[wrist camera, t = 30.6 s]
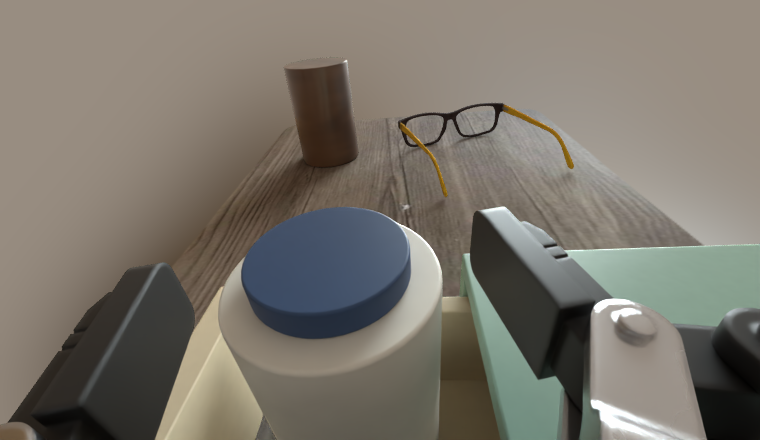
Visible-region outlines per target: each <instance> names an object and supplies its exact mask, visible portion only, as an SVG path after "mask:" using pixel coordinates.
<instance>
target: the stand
mask: <svg viewBox="0 0 760 440" xmlns="http://www.w3.org/2000/svg"><path fill="white" fill-rule="evenodd" d="M284 71H285V76H286V80H287V85H288V89H289V94H290V98H291V103H292V107H293V112H294V116H295V121H296V126H297V130H298V135H299V139H300V144H301V148H302V153H303V157H304V161H305V163H306V164H308V165H310V166H314V167H333V166H338V165H342V164H345V163H348V162H350V161H352V160H353V159H355V158H356V157H357V156H358V153H359V152H358V144H357V136H356V128H355V120H354V112H353V104H352V96H351V88H350V80H349V73H348V64H347V59H345V58H338V57H329V58H317V59H309V60H302V61H297V62H293V63H290V64H287V65H285V66H284Z"/></svg>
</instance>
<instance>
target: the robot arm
mask: <svg viewBox="0 0 760 440" xmlns="http://www.w3.org/2000/svg"><path fill="white" fill-rule="evenodd" d="M470 263H471V268H472V271H473V274H474V276H475V278H476V279H477V281H478V283H479V284H480V286H481V288H482V289H483V291H484V292H485V294H486V296H487V297H488V299H489V301H490V302H491V304H492V306H493V307H494V309H495V310H496V312H497V314H498V315H499V317H500V319H501V320H502V322H503V324H504V325H505V327H506V328H507V330H508V332H509V333H510V335H511V337H512V338H513V340H514V342H515V343H516V345H517V346H518V348H519V350H520V351H521V353H522V355H523V356H524V358H525V360H526V361H527V363H528V365H529V366H530V368H531V369H532V371H533V373H534V374H535V376H536V378H537V379H538V380H541V379H545V378H550V377H554V376H556V377H557V379H558V380H559V382H560V383H561V385H562V386H563V387H562V389H561V393H560V404H559V417H558V430H557V440H760V309H756V308H736V309H733V310H731V311H729V312H728V313H727V314H726V315H725V316H724V318H723V319H722V321H721V322H720V323H719V325H718V326H717V327H716V326H702V325H689V324H676V323H671V322H670V321H669V320H668V319H666V318H665V317H664V316H662V315H661V314H660V313H658V312H656V311H655V310H653V309H651V308H649V307H647V306H644V305H642V304H639V303H636V302H633V301H628V300H622V299H614V298H613V297H612V296H611V295H610V294H609V293H608V292H607V291H606V290H605V289H604V288H603V287H601V286H600V285H599V284H598V283H597V282H596V281H595V280H594V279H593V278H592V277H591V276H590V275H589V274H588V273H587V272H586V271H585V270H584V269H583V268H582V267H581V266H580V265H579V264H578V263H577V262H576V261H575V260H574V259H573V258H571V257H568V254H567V253H566V252H565V251H564V250H563V249H562V248H561V247H560V246H557V243H556V242H555V241H554V240H553V239H552V238H551V237H550V236H549V235H548V234H547V233H546V232H545V231H543V230H541V229H539V228H538V227H536V226H534V225H532V224H530V223H528V222H526V221H525V222H519V221H518V220H517V219H516V217H515V216H514V215H513V214H512V213H511V212H510V211H509V210H508V209H507V208H505V207H498V208H492V209H486V210H480V211H476V212H475V213H474V216H473V224H472V236H471V247H470ZM194 323H195V316H194V310H193V306H192V304H191V302H190V300H189V298H188V297H187V295H186V293H185V291H184V289H183V288H182V286H181V284H180V282H179V280H178V278H177V277H176V275H175V273H174V271H173V269H172V268H171V267H170V265H168V264H167V263H157V264H151V265H145V266H139V267H133V268H130V269H128V270H127V271H126V272H125V274H124V275H123V276H122V278H121V279H120V281H119V282H118V284H117V286H116V287H115V289H114V290H113V292H109V293H108V294H106V295H105V296H104V297H103V298H102V299H100V300H99V301H98V302H97V303H96V304H95V305H94V306H92V307H91V308H90V309H89V310H88V311H87V312H86V313H85V315H84V317H83V318H82V319H81V320H80V322H79V323H78V325H77V326H76V327H75V329H74V334H70V336H69V337H68V339H67V340H66V341H65V343H64V344H63V346H62V351H59V352H58V353H57V354H56V355H55V357H54V358H53V360H52V361H51V363H50V364H49V365H48V367H47V368H46V370H45V371H44V372H43V374H42V375H41V377H40V378H39V379H38V381H37V382H36V384H35V385H34V386H33V388H32V389H31V391H30V392H29V393H28V395H27V396H26V398H25V399H24V400H23V402H22V403H21V405H20V406H19V407H18V409H17V410H16V412H15V413H14V414H13V416H12V417H11V419H10V420H9V421H8V423H6V424H1V425H0V440H155V438H156V435H157V432H158V429H159V426H160V424H161V421H162V418H163V415H164V412H165V409H166V406H167V403H168V401H169V398H170V395H171V392H172V389H173V386H174V383H175V380H176V378H177V375H178V372H179V369H180V366H181V363H182V360H183V357H184V355H185V352H186V349H187V346H188V343H189V340H190V337H191V335H192V332H193V328H194Z"/></svg>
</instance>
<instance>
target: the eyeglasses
mask: <svg viewBox="0 0 760 440" xmlns="http://www.w3.org/2000/svg"><path fill="white" fill-rule="evenodd" d="M478 106H493V107H494V109H495V122H494V125H493V127H492V128H491V129H490V130H488V131H485V132H482V133H478V134H473V135H463V134H462V133H461V132H460V130H459V127H458V124H457V121H456V116H457V115H458V114H459V113H460V112H462V111H464V110H466V109H470V108H473V107H478ZM502 111H504V112H506V113H508V114H511V115H513V116H516V117H519V118H521V119H523V120H525V121H527V122H529V123H531V124H534V125H536V126H538V127H540V128H542V129H544V130H547V131H549V132H550V133H552V134H553V135H554V136H555V137H556V138H557V140H558V141H559V143H560V145H561V147H562V150H563V153H564V156H565V159H566V162H567V165H568V167H569V168H570V169H573V167H574V165H573V162H572V159H571V157H570V155H569V153H568V151H567V149H566V146H565V144H564V142H563V140H562V139H561V137H560V136H559V135H558V133H557V132H556V131H554V130H553V129H552V128H550V127H548V126H546V125H544V124H542V123H540V122H538V121H536V120H535V119H533V118H531V117H529V116H527V115H525V114H523V113H521V112H519V111H517V110H515V109H513V108H511V107H509V106H507V105H504V104H503V103H483V104H475V105H471V106H467V107H464V108H462V109H459V110H457V111H454V112H450V113H422V114H417V115H414V116H410V117H407V118H405V119H402V120H400V121H398V126H399V129H401V131H402V135H403V138H404V140H405V142H406V144H407V145H408V146H410V147H420V148H422V149H423V150H424V151H425V152H426V153H427V154H428V155H429V156H430V158H431V159H432V161H433V163H434V165H435V167H436V170H437V173H438V177H439V180H440V184H441V188H442V191H443V194H444V196H445V197H447V190H446V187H445V184H444V181H443V178H442V175H441V173H440V170H439V167H438V164H437V162H436V160H435V158H434V156H433V155H432V153H431V152H430V151H429V150H428V149H427V148H426V147H425V146H426V145H431V144H434V143H436V142H438V141H439V140H440V139H441V137H442V135H443V134H444V132H445V130H446V126H447V121H448V120H450V119H452V120H453V122H454V125H455V127H456V129H457V131H458V133H459V134H460V135H461V136H463V137H474V136H479V135H483V134H486V133H489V132H491V131H493V130H494V129H495V127H496V125H497V122H498V118H499V114H500V112H502ZM427 115H438V116H442V117H443V119H444V123H443V128H442V131H441V133H440V136H439V137H438V139H437V140H435V141H433V142H430V143H425V144H422V143H421V142H420V141H419V140H418V139H417V138H416V137H415V136H414V135H413V134H412V133H411V131H410V130H409V129H408V128H407V127H406V124H407V122H408V121H409V120H411V119H413V118H416V117H420V116H427ZM406 135H408V136H409V137H410V138H411V139H412V140H413V141H414V142H415V143H416V145H413V144H410V143H409V142H408V140H407V136H406Z"/></svg>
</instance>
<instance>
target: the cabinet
mask: <svg viewBox="0 0 760 440" xmlns="http://www.w3.org/2000/svg"><path fill="white" fill-rule="evenodd" d="M565 252H566V253H567V254H568V257H571V258H573V259H574V260H575V261H576V262H577V263H578V264H579V265H580V266H581V267H582V268H583V269H584V270H585V271H586V272H587V273H588V274H589V275H590V276H591V277H592V278H593V279H594V280H595V281H596V282H597V283H598V284H599V285H600V286H601V287H603V288H604V289H605V290H606V291H607V292H608V293H609V294H610V295H611V296H612V297H613V298H614V299H622V300H628V301H633V302H636V303H639V304H642V305H644V306H647V307H649V308H651V309H653V310H655V311H656V312H658V313H660V314H661V315H662V316H664V317H665V318H666V319H668V320H669V321H670V322H671V323H676V324H689V325H702V326H716V327H717V326H718V325H719V323H720V322H721V321H722V319H723V318H724V316H725V315H726V314H727V313H728V312H729V311H731V310H733V309H736V308H756V309H760V244H751V245H724V246H723V245H722V246H691V247H661V248H630V249H600V250H570V251H565ZM460 297H468V298H469V303H470V307H471V311H472V316H473V320H474V325H475V329H476V333H477V338H478V342H479V347H480V351H481V355H482V360H483V364H484V369H485V373H486V377H487V382H488V386H489V391H490V395H491V399H492V404H493V408H494V413H495V417H496V421H497V426H498V430H499V435H500V439H501V440H557V430H558V417H559V404H560V393H561V389H562V387H563V386H562V385H561V383H560V382H559V380H558V379H557V377H556V376H554V377H550V378H545V379H541V380H538V379H537V378H536V376H535V374H534V373H533V371H532V369H531V368H530V366H529V365H528V363H527V361H526V360H525V358H524V356H523V355H522V353H521V351H520V350H519V348H518V346H517V345H516V343H515V342H514V340H513V338H512V337H511V335H510V333H509V332H508V330H507V328H506V327H505V325H504V324H503V322H502V320H501V319H500V317H499V315H498V314H497V312H496V310H495V309H494V307H493V306H492V304H491V302H490V301H489V299H488V297H487V296H486V294H485V292H484V291H483V289H482V288H481V286H480V284H479V283H478V281H477V279H476V278H475V276H474V274H473V271H472V268H471V263H470V254H463V256H462V269H461V282H460Z"/></svg>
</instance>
